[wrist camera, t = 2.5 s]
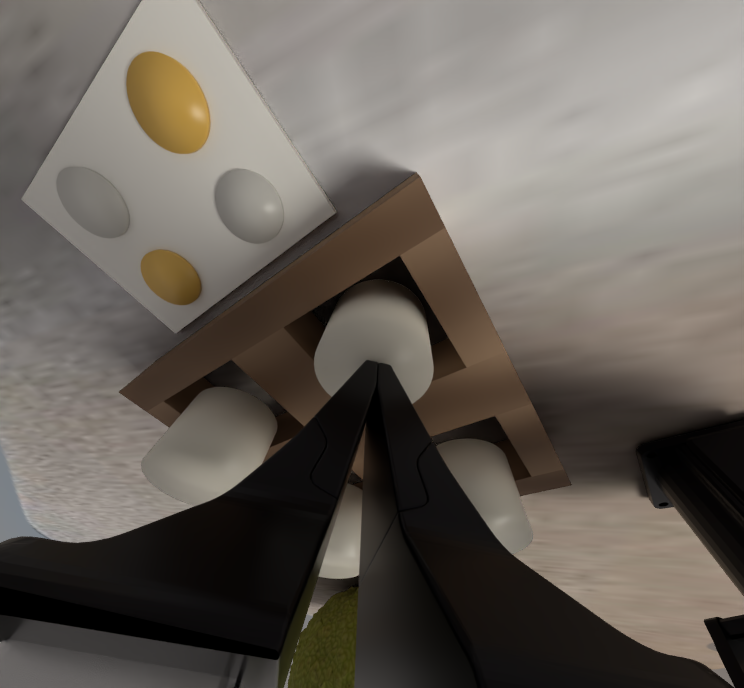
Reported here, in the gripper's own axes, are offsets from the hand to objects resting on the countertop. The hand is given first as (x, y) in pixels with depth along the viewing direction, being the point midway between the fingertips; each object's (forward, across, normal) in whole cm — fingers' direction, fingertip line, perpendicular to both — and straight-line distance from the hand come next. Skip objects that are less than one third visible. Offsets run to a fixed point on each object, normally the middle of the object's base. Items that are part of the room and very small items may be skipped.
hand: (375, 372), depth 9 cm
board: (+4, 0, +6) cm, 7 cm away
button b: (+1, 0, +11) cm, 11 cm away
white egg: (+3, 0, 0) cm, 3 cm away
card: (+4, +9, -3) cm, 10 cm away
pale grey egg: (+1, -6, +6) cm, 8 cm away
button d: (+1, +6, +6) cm, 8 cm away
